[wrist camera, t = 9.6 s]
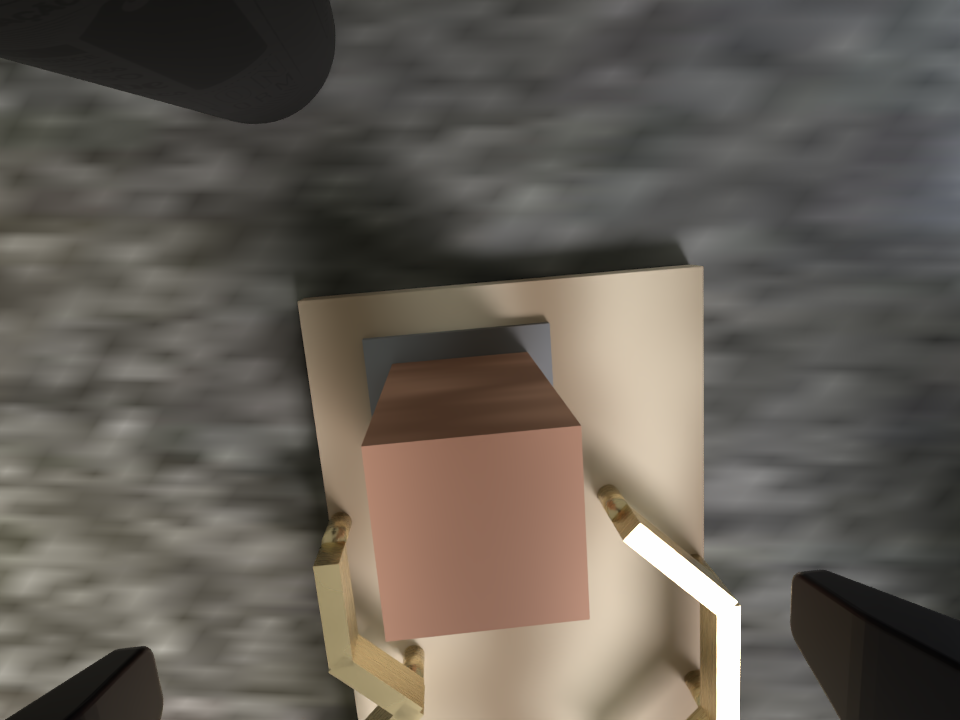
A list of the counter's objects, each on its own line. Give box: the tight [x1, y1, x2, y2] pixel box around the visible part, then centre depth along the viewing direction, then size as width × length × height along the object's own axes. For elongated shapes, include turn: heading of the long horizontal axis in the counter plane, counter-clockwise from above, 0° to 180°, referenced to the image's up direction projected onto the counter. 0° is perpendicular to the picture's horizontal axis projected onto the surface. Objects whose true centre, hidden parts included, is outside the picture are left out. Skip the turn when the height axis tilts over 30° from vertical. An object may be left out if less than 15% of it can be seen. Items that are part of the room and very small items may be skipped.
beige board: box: [297, 265, 704, 720], centre depth 20 cm, size 12×24×1 cm, turn 5°
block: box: [361, 352, 590, 642], centre depth 15 cm, size 4×4×7 cm
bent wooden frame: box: [313, 484, 741, 720], centre depth 19 cm, size 12×11×2 cm
